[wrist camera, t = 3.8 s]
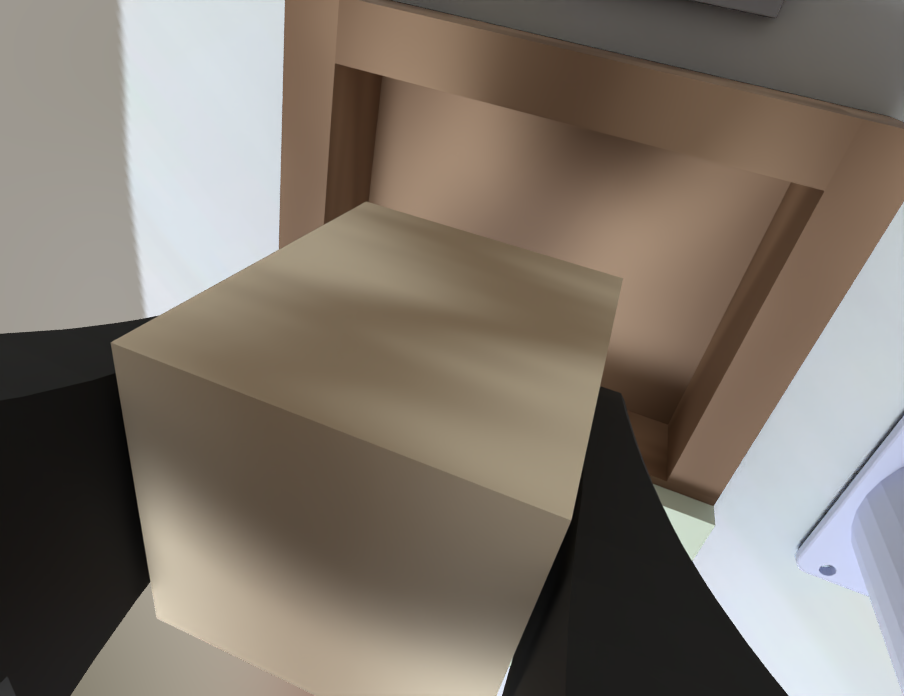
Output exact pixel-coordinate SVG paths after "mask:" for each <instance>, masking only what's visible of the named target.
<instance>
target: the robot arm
mask: <svg viewBox="0 0 904 696" xmlns="http://www.w3.org/2000/svg"><path fill="white" fill-rule="evenodd" d="M159 316H160V315H159ZM156 317H158V316H154V317H150V318H145V319H139V320H133V321H127V322H120V323H114V324H106V325H98V326H90V327H82V328H73V329H64V330H50V331H35V332H20V333H6V334H0V696H70V695H71V694H72V692H73V691H74V689H75V688H76V686H77V685H78V683H79V682H80V680H81V679H82V677H83V676H84V674H85V673H86V671H87V670H88V668H89V667H90V665H91V664H92V662H93V660H94V659H95V658H96V656H97V655H98V653H99V652H100V651H101V649H102V648H103V647H104V645H105V644H106V642H107V641H108V639H109V638H110V636H111V635H112V634H113V632H114V631H115V630H116V628H117V627H118V625H119V624H120V622H121V621H122V619H123V618H124V617H125V615H126V614H127V612H128V611H129V610H130V608H131V607H132V605H133V604H134V603H135V601H136V600H137V598H138V597H139V596H140V595H141V593H142V592H143V591H144V589H145V588H146V587H147V585H148V584H149V583H150V576H149V570H148V564H147V558H146V552H145V546H144V540H143V534H142V528H141V522H140V516H139V510H138V504H137V498H136V492H135V486H134V480H133V474H132V468H131V462H130V456H129V450H128V444H127V438H126V432H125V426H124V420H123V414H122V408H121V402H120V396H119V390H118V384H117V378H116V372H115V366H114V360H113V354H112V348H111V342H112V341H114V340H116V339H118V338H120V337H122V336H123V335H125V334H127V333H129V332H131V331H132V330H134V329H136V328H138V327H140V326H141V325H143V324H145V323H147V322H149V321H151V320H152V319H154V318H156ZM795 558H796V563H797V566H798V567H799V569H800V570H802V571H804V572H806V573H808V574H811V575H814V576H816V577H819V578H821V579H824V580H827V581H829V582H832V583H835V584H837V585H840V586H842V587H845V588H848V589H850V590H853V591H856V592H858V593H861V594H863V595H866V596H869V597H870V600H871V603H872V606H873V609H874V612H875V615H876V618H877V621H878V624H879V627H880V629H881V632H882V635H883V638H884V641H885V644H886V647H887V650H888V653H889V656H890V659H891V662H892V665H893V668H894V671H895V673H896V676H897V679H898V682H899V685H900V688H901V691H902V694H903V696H904V416H903V417H902V419H901V420H900V421H899V422H898V424H897V425H896V426H895V427H894V429H893V430H892V431H891V432H890V434H889V435H888V436H887V438H886V439H885V440H884V441H883V443H882V444H881V445H880V446H879V448H878V449H877V450H876V452H875V453H874V454H873V455H872V457H871V458H870V459H869V460H868V462H867V463H866V464H865V466H864V467H863V468H862V469H861V471H860V472H859V473H858V474H857V476H856V477H855V478H854V479H853V481H852V482H851V483H850V485H849V486H848V487H847V488H846V490H845V491H844V492H843V493H842V495H841V496H840V497H839V499H838V500H837V501H836V502H835V504H834V505H833V506H832V507H831V509H830V510H829V511H828V513H827V514H826V515H825V516H824V518H823V519H822V520H821V521H820V523H819V524H818V525H817V527H816V528H815V529H814V530H813V532H812V533H811V534H810V535H809V537H808V538H807V539H806V540H805V542H804V543H803V544H802V546H801V547H800V548H799V549H798V551H797V552H796V554H795ZM823 565H831V566H830V567H822V566H823ZM502 696H788V694H787V693H786V692H785V691H784V690H783V688H782V687H781V686H780V685H779V683H778V682H777V681H776V680H775V679H774V677H773V676H772V675H771V674H770V672H769V671H768V670H767V668H766V667H765V666H764V664H763V663H762V662H761V661H760V659H759V658H758V657H757V655H756V654H755V653H754V651H753V650H752V649H751V648H750V646H749V645H748V644H747V642H746V641H745V640H744V638H743V637H742V635H741V634H740V632H739V631H738V630H737V628H736V627H735V625H734V624H733V623H732V621H731V620H730V618H729V617H728V615H727V614H726V613H725V611H724V610H723V608H722V607H721V606H720V604H719V603H718V601H717V600H716V598H715V597H714V595H713V594H712V592H711V591H710V589H709V588H708V586H707V585H706V583H705V582H704V580H703V578H702V577H701V575H700V574H699V572H698V570H697V568H696V567H695V565H694V563H693V562H692V560H691V558H690V557H689V555H688V553H687V552H686V550H685V548H684V547H683V545H682V543H681V541H680V539H679V537H678V535H677V533H676V532H675V530H674V528H673V526H672V524H671V522H670V520H669V518H668V515H667V513H666V511H665V509H664V507H663V505H662V503H661V501H660V499H659V496H658V494H657V492H656V490H655V487H654V485H653V483H652V480H651V478H650V475H649V473H648V470H647V468H646V465H645V463H644V460H643V458H642V455H641V452H640V449H639V447H638V444H637V441H636V438H635V435H634V432H633V429H632V425H631V422H630V419H629V415H628V412H627V408H626V404H625V400H624V398H623V396H622V394H621V393H619V392H616V391H613V390H610V389H607V388H604V387H601V386H600V389H599V393H598V398H597V403H596V407H595V412H594V417H593V421H592V426H591V431H590V435H589V440H588V445H587V449H586V454H585V459H584V464H583V468H582V473H581V478H580V482H579V487H578V492H577V496H576V501H575V506H574V510H573V515H572V520H571V522H570V525H569V527H568V529H567V532H566V534H565V536H564V539H563V541H562V543H561V546H560V548H559V550H558V553H557V555H556V557H555V560H554V562H553V564H552V567H551V569H550V571H549V574H548V576H547V578H546V581H545V583H544V585H543V588H542V590H541V592H540V595H539V597H538V599H537V602H536V604H535V606H534V609H533V611H532V613H531V616H530V618H529V620H528V623H527V625H526V627H525V630H524V632H523V634H522V637H521V639H520V641H519V644H518V646H517V648H516V651H515V653H514V655H513V659H512V662H511V666H510V669H509V673H508V677H507V680H506V684H505V687H504V691H503V694H502Z"/></svg>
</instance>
